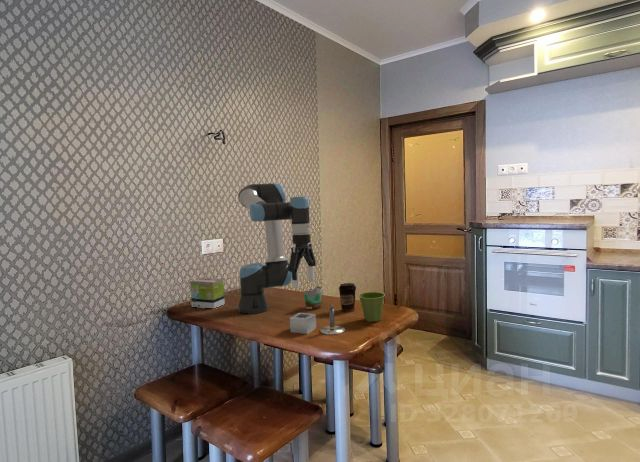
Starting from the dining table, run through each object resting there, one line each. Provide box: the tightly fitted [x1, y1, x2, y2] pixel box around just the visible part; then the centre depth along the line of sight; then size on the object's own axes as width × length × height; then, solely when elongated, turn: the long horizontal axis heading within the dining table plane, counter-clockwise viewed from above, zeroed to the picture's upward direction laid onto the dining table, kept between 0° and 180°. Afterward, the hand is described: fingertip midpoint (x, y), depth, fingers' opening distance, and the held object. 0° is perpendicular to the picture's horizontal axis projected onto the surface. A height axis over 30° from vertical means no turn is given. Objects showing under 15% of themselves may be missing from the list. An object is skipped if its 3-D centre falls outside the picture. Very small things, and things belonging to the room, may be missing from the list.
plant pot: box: [357, 291, 386, 323], centre depth 171 cm, size 12×12×11 cm
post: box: [319, 303, 346, 336], centre depth 159 cm, size 10×10×11 cm
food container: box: [303, 285, 323, 311], centre depth 195 cm, size 12×6×10 cm, turn 148°
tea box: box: [189, 277, 226, 309], centre depth 209 cm, size 15×10×15 cm
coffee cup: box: [338, 282, 357, 313], centre depth 188 cm, size 9×8×13 cm
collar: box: [289, 312, 317, 335], centre depth 162 cm, size 8×8×6 cm
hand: (303, 284), depth 162 cm, fingers open, 13 cm apart
